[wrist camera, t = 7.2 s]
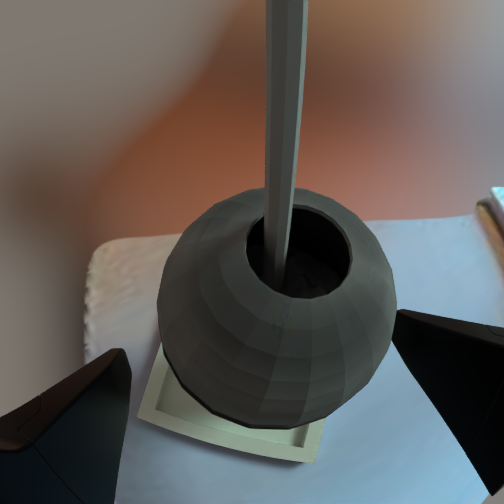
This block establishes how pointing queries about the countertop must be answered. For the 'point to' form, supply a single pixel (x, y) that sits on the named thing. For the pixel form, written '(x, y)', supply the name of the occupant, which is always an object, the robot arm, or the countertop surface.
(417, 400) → the countertop surface
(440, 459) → the countertop surface
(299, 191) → the beverage cup
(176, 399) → the tray
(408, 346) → the robot arm
